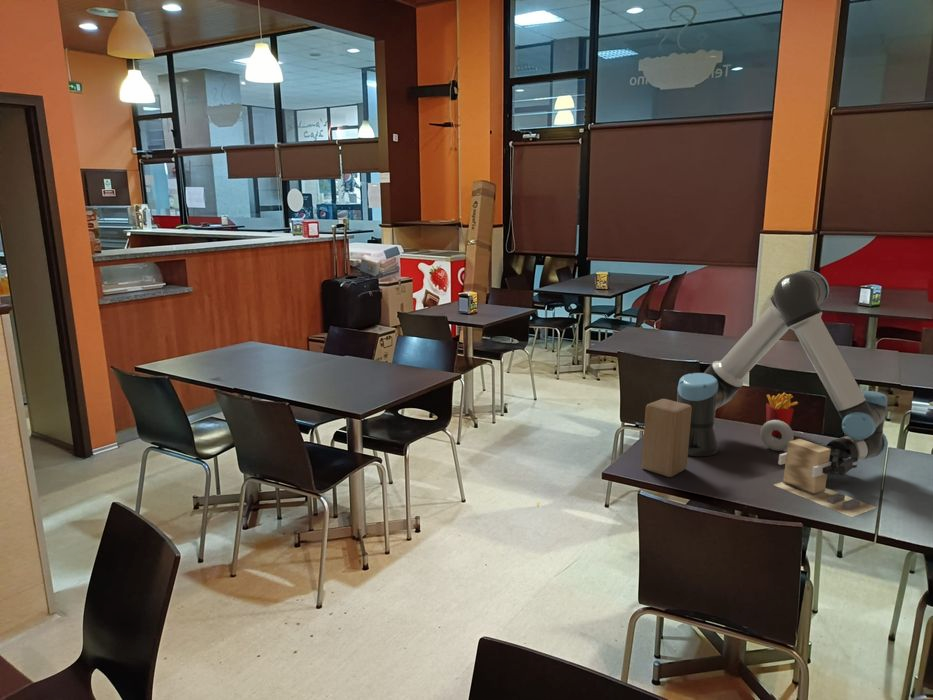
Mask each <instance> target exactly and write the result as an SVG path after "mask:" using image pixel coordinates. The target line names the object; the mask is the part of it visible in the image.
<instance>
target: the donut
mask: <svg viewBox="0 0 933 700" xmlns="http://www.w3.org/2000/svg"><path fill="white" fill-rule="evenodd" d="M774 430H777V431H779V432H780V433H781V435H782V437H781V438H780V439H775V438H774V437H773V436H772V434H771V433H772V431H774ZM759 434H760V435H759V437H760V440H761V442H762V443H763V444H764V445H765V447H767V448H768V449H771V450H773V451H780V452H781V451H784V450H787V446H788V442H789V441H792V440H795V439H794V431H793V430H792V428H791V426H790V427H789V425H787V424H786V423H785V422H783V421H780V420H771V421H768V422H764V423H763V425H762V426H761V428H760V432H759Z"/></svg>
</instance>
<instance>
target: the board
mask: <svg viewBox="0 0 933 700" xmlns="http://www.w3.org/2000/svg"><path fill="white" fill-rule="evenodd" d="M773 486H775V487H777V488H779V489H781V490H784V491H786V492H789V493H792V494H794V495H797V496H799V497H801V498H804V499H806V500H808V501H811V502H813V503H816V504H818V505H821V506H823V507H825V508H828V509H830V510H833V511H835V512H838V513H840V514H843V515H844V516H847V517H849V518H854V517H856V516H859V515H862V514H865V513H867V512H869V511H872V510H874V509H875V510H876V509H877V507H876V506H875V505H872V504H868V503H866V502H863V501H861V500H859V501H860V506H858V507H855V508H853V509H850V510H846V509H844V508H842V504H843V502H846V501H849V500H851V499H854V497H850V496H848V495H846V494H844V495H845V499H844V500H843V501H840V502H837V503H835V504H832V503H829V502H827V499H828V496H831V495H834V494H837V493H839V492H838V491H835V490H832V489H830V488H827V487H825V491H824V492H821V493H818V494H815V495H812V494H809V493H807V492H805V491H802V490H800V489H797V488H795V487H792V486H790V485H787V484H785V483H783V481H780V482H778V483H774V484H773Z"/></svg>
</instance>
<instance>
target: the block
mask: <svg viewBox="0 0 933 700" xmlns="http://www.w3.org/2000/svg"><path fill="white" fill-rule="evenodd" d="M691 413H692V406H691V405H688V404H684V403H680V402H677V400H676V401H675V400H672V399H668V398H660V399H658V400H655V401H652V402H650V403H647V404H646V406H645V414H644V423H643V440H642V452H641V468H642V469H643V470H645V471H648V472H652V473H655V474H659V475H662V476H664V477H667V478H672V477H674V476H676V475H678V474H680V473H682V472H683V471H685V470H686V469H687V467H688V458H689V457H688V456H689V455H688V446H689V435H690V424H691Z"/></svg>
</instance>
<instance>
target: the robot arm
mask: <svg viewBox="0 0 933 700" xmlns="http://www.w3.org/2000/svg"><path fill="white" fill-rule="evenodd" d="M829 286H830V285H829V283H828V281H827V279H826V278H825V276H823V275H822V274H821V273H819V272H817V271H814V270H811V269H803V270H799V271H796V272H795V273H793V272H792V273H790V274H787V275H785V276H783V277H782V278H781V279H779V281H778V282H776V285H775V287H774V290H773V294H772V296H770V298H769V306H768V308H767V309H766V310H765V311H763V313H762V314H761V316H760V317H758V318H757V320H755V322H754V323H753V325H751V326H750V328H749V329H748V330H747V331H746V332H745V333H744V335H743V336H741V338H739V340H738V341H737V342H736V343H735V345H733V347H731V349H730V350H729V351H728V353H727V354H725V356H723V358H722V359H721V360H715V361H714V360H713V362H712V363H711V364H710V365H709V366H708V367H707V368H706V370H704V372H692V373H687V374H684V375H682V376H681V377H680V378H679V381H678V385H677V394H676V395H677V396H676V397H677V398H676V402H680V403H684V404H688V405H691V406H692V413H691V424H690V435H689V446H688V456H693V457H709V456H713V455H716V454H717V452H718V447H719V445H718V441H717V436H716V432H715V418H716V410H717V409H719V408H721V407H723V406H724V405H726V404H728V403H729V402H731V401H732V400H733V398H734V397H735V395H736V394H737V392H738V391H739V390H740V389H741V388H742V387H743V385H744V381H743V380H744V377H745V376H746V375H747V374H748V373H749V372H750V371H751V370H752V369H753V368H754V366H756V365H757V364H758V363H759V361H760V360H762V358H763V357H764V356H765V355H766V354H767V353H768V352H769V350H771V349H772V348H773V346H775V344H777V342H778V341H779V340H780V339H781V338H782V337H783V336H785V334H786V333H787V332H788V330H792V331H793V332H794V333H795V335H796V337H797V339H798V340H799V342H800V345H801V346H802V349H803V350H804V352H805V354H806V356H807V358H808V359H809V361H810V362H811V365H812V366H813V369H814V370H815V371H816V374H817V376H818V377H819V380H820V381H821V383H822V385H823V387H824V388H825V390H826V392H827V395H828V396H829V397H830V401H831V402H832V403H833V405H834V407H835V409H836V410H837V412H838V414H839V417H840V418H841V419H842V421H841V429H842V431H843V433H844V434H845V435H846V436H842V437H840V438H836V439H833V440H830V441H829V442H828V443H827V444H826V445H825V446H823V445H822V446H823V447H826V448H829V449H831V451H830V458H829V463H828V462H827V463H824V464H820V465H817V466H814V467H813V468H812V476H811V477H817V476H820V475H824V474H827V475H829V474H836V473H837V475H838V476H845V475H846V473H848V472H849V471H851V470H852V469H855V468H857V467H858V462H860V461H864V460H867V459H871V458H872V459H873V458H875V457H878V456H879V455H881V454H883V453H884V452H886V451H887V449H888V446H889V442H888V439H887V436H886V435H885V434H884V425H885V420H886V413H887V408H888V396H887V395H886V394H884V393H882V392H878V391H874V390H873V391H872V390H861V388H860V387H859V385H858V382H857V381H856V380H855V378H854V375H853V373H852V372H851V371H850V369H849V366H848V365H847V363H846V361H845V360H844V358H843V356H842V354H841V352H840V350H839V349H838V348H839V347H837V345H836V343H835V341H834V339H833V338H832V336H831V334H830V332H829V330H828V328H827V326H826V324H825V323H824V321H823V319H822V315H823V311H822V309H821V306H822V305H823V304H824V303H825V302H826V300H827V299H828V297H829V292H830V287H829ZM778 455H779V456H778V462H777V464H778V465H785V463H786V455H787V451H786V452H783V453H780V454H778Z"/></svg>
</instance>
